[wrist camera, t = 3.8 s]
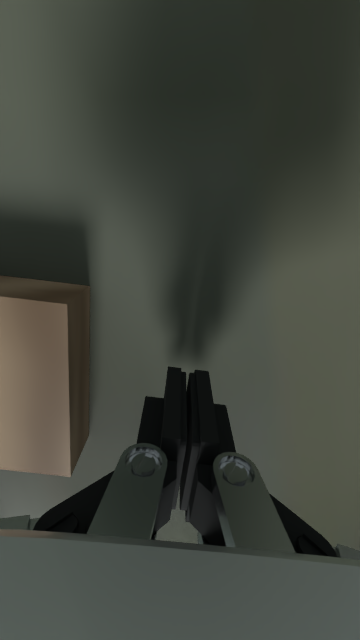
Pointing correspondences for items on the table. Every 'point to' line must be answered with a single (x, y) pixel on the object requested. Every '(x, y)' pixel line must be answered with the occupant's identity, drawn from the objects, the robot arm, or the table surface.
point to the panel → (43, 375)
